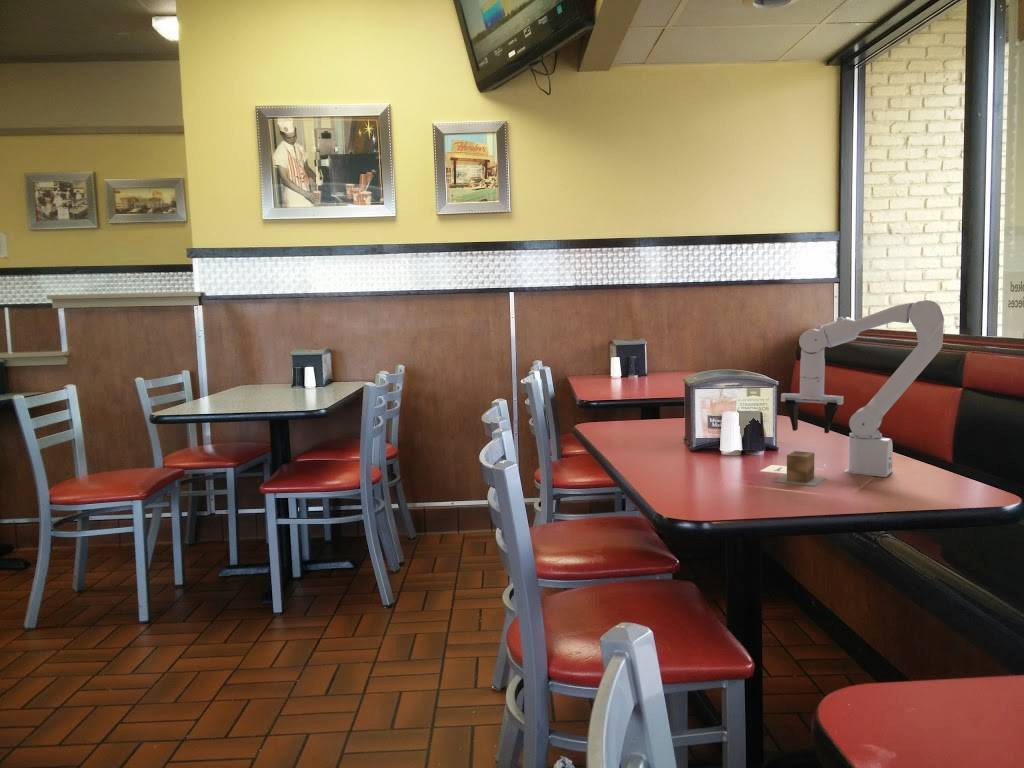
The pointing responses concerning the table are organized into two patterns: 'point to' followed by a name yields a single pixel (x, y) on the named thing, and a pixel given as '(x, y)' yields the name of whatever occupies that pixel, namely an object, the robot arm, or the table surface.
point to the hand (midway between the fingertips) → (810, 431)
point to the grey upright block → (747, 417)
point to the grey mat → (812, 482)
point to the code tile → (776, 469)
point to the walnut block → (800, 466)
